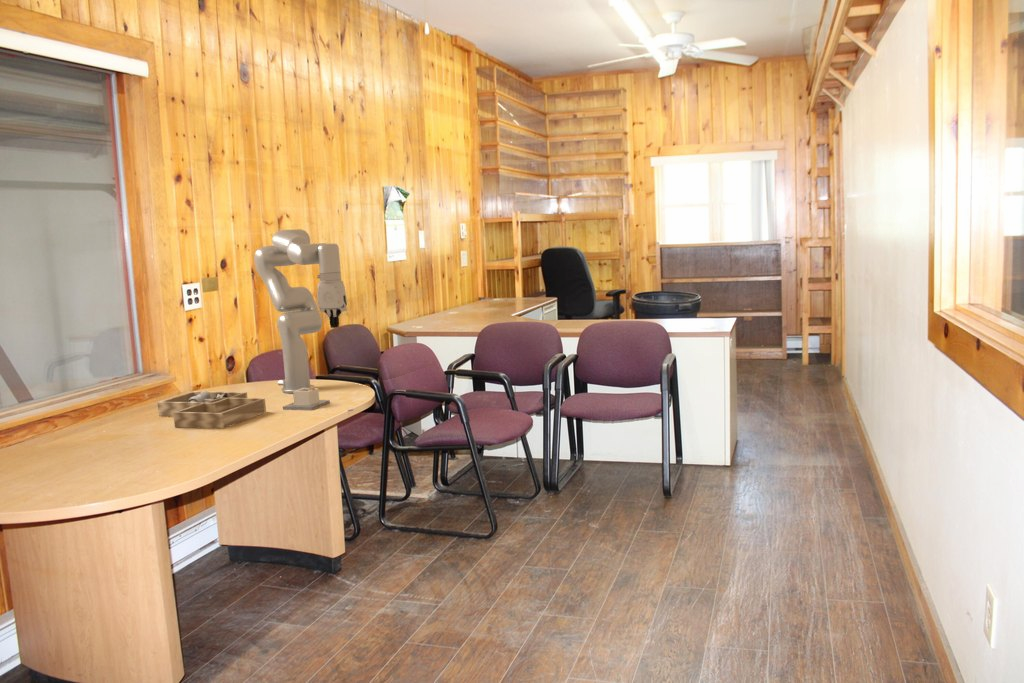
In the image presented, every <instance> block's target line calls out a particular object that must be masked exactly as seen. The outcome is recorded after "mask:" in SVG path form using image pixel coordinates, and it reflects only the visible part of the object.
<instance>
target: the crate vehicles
mask: <svg viewBox="0 0 1024 683" xmlns="http://www.w3.org/2000/svg"><path fill="white" fill-rule="evenodd" d="M223 399H226V398H217V399H214V400H211V401H208V402H205V403H213V402H216V401H220V400H223ZM205 403H201V404H198V405H195V406H192V407H189V408H186V409H183V410H180V411H176V412H173V415H174V416H173V422H174V428H189V429H190V428H191V429H215V428H217V429H218V428H219V429H218V430H221V429H225V427H226V428H228V427H231V426H234V425H236V424H239V423H241V422H245V421H247V420H249V418H250V419H252V418H255V417H258V416H260V415H262V414H265V412H266V413H267V408H266V399H265V398H264V397H263V398H262V397H261V398H260V397H247V398H229V406H230V410H227V411H225V412H222V413H206V410H205ZM257 415H258V416H257ZM233 424H234V425H233ZM230 425H231V426H230ZM217 429H216V430H217Z"/></svg>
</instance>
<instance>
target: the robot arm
mask: <svg viewBox="0 0 1024 683" xmlns="http://www.w3.org/2000/svg"><path fill="white" fill-rule="evenodd" d="M271 242H272V245H266V246H262V247H259V248H257V250H255V253H254V257H253V258H254V259H253V260H254V266H255V269H256V271H257V273H258V275H259V277H260V278H261V280H262V281H263V283H264V285H265V286H266V290H267V292H268V294H269V297H270V299H271V303H272V305H273V306H274V308H275V310H276V311H277V312H279V313H282V314H281V315H279V316H278V318H277V329H278V332H279V336H280V341H281V347H282V348H281V350H282V358H283V359H282V360H283V369H284V370H283V371H284V379H280V380H278V382H277V385H278V386H283V388H282V389H281V391H282V392H283V393H284V394H293V391H296V390H298V389H301V388H310V387H315V385H314V384H311V377H310V367H309V365H310V364H309V356H308V346H307V343H306V341H305V340H304V339H303V338H302V337H301V336H302V335H308V334H316V333H318V332H319V331H321V330H322V326H323V320H322V316H321V313H320V312H322V313H325V315H327V318H329V319H328V320H329V325H330V328H331V329H335V328H339V325H340V318H339V317H340V315H341V314H342V313H343V312H347V311H348V309H347V306H348V300H347V292H346V286H345V283H344V281H343V280H342V273H341V272H342V270H341V260H340V248H339V245H338V244H337V243H326V242H325V243H323V242H322V243H311V238H310V235H309V233H308V232H307V231H306V230H304V229H281V230H278V231H277V232H275V233H274V234H273V235H272V238H271ZM296 265H300V266H301V265H302V266H308V265H319V268H318V269H319V274H317V276H316V277H317V279H319V281H318V284H317V290H316V291H317V296H316V297H317V298H316V300H317V303H316V300H315V298H314V295H313V294H312V291H310V290H309V288H307V287H304V286H296V287H293V286H292V287H291V286H290V284H289V282H288V279H287V277H286V276H285V274H284V273H282V272H281V271H280V270H278V268H277V267H287V266H288V267H289V266H296Z"/></svg>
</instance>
